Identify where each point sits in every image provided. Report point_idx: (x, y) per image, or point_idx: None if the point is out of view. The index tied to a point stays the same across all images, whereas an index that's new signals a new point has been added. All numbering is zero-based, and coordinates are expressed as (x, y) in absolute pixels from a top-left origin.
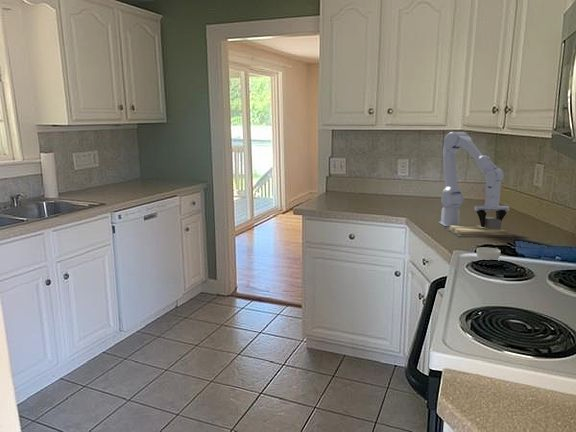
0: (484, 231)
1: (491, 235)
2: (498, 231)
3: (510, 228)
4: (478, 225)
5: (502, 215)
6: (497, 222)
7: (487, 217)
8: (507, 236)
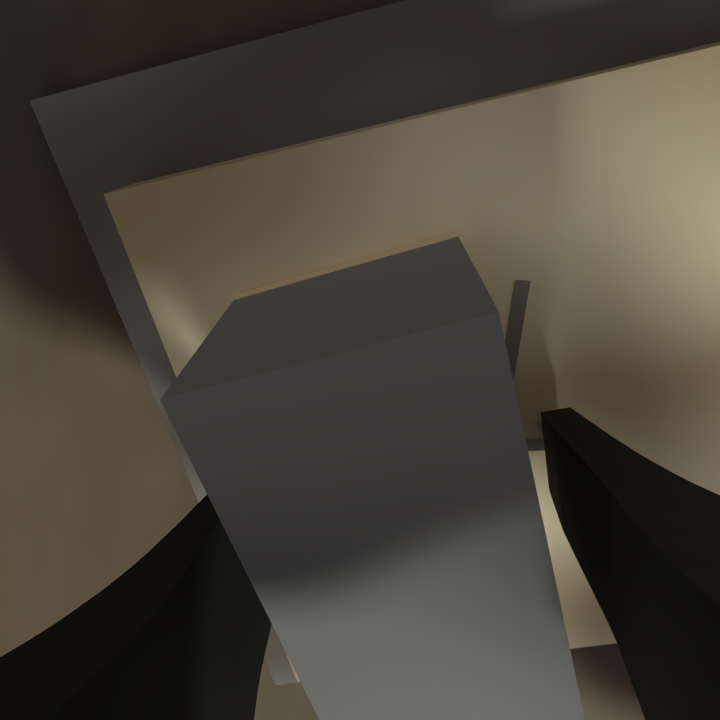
0: (630, 88)
1: (457, 64)
2: (296, 172)
3: None
4: None
5: (75, 645)
6: (289, 338)
7: (468, 700)
8: (140, 74)
